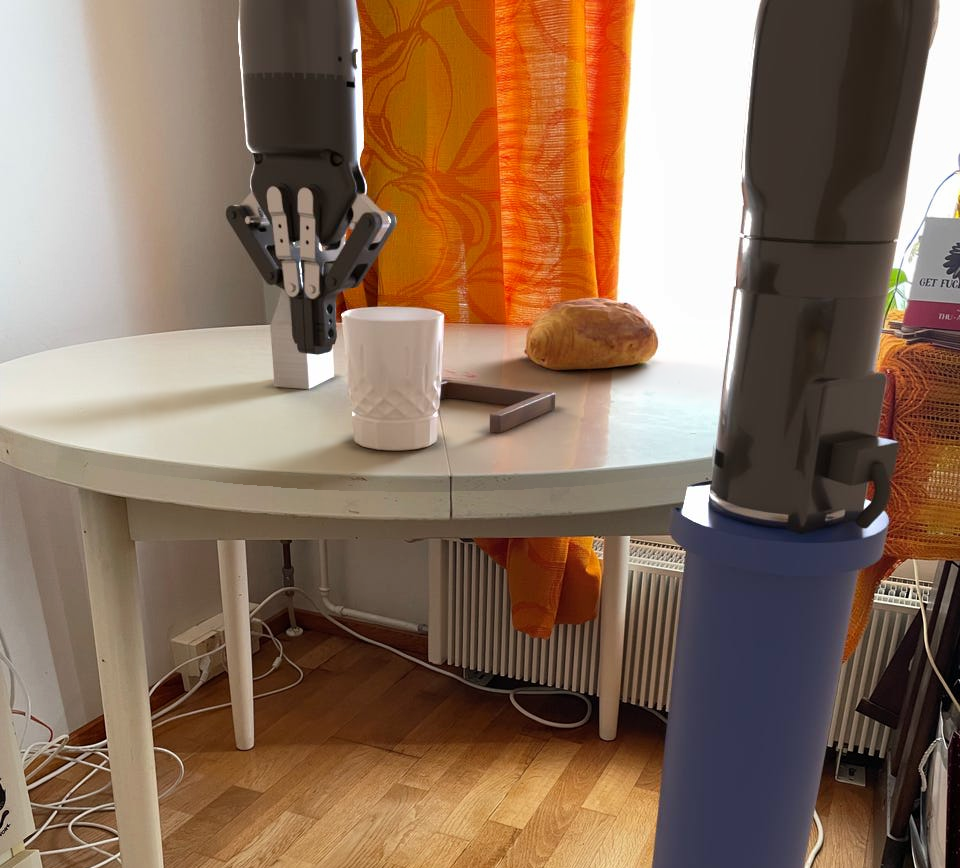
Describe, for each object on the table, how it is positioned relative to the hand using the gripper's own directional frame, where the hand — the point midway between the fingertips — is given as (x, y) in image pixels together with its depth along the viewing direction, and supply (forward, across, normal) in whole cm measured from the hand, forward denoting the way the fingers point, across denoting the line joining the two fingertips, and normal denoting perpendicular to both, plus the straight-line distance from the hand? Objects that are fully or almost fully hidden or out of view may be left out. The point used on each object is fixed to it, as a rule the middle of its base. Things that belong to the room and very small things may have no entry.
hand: (315, 352), depth 72 cm
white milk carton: (+9, -21, +25) cm, 34 cm away
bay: (+8, 0, +22) cm, 23 cm away
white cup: (+9, 0, +10) cm, 13 cm away
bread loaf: (+9, -1, +52) cm, 53 cm away
